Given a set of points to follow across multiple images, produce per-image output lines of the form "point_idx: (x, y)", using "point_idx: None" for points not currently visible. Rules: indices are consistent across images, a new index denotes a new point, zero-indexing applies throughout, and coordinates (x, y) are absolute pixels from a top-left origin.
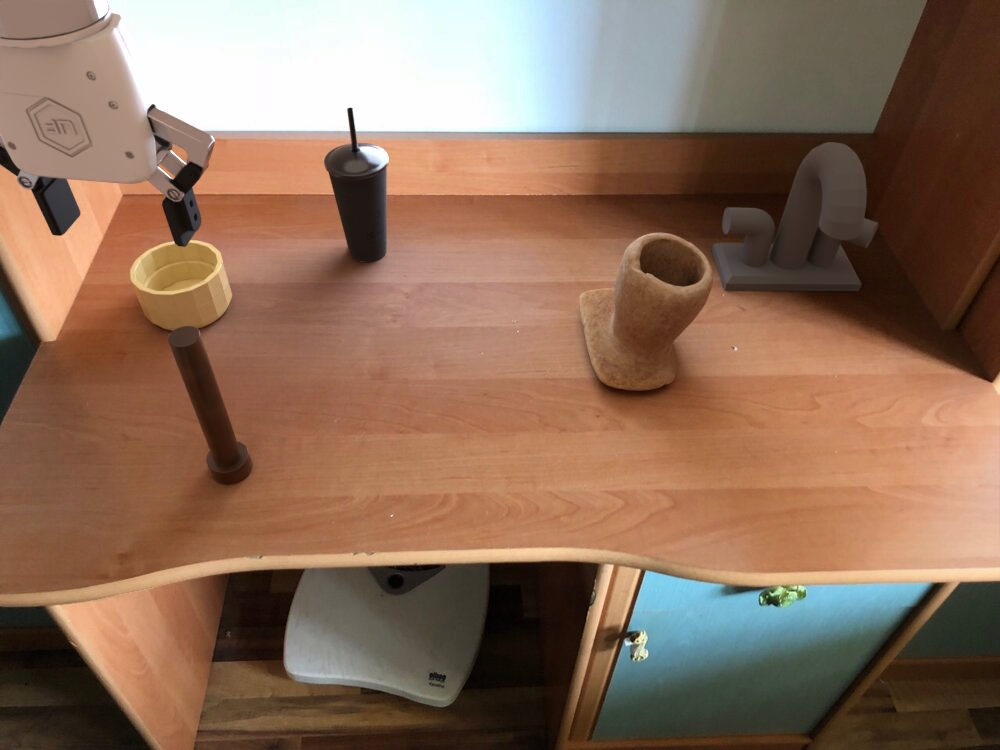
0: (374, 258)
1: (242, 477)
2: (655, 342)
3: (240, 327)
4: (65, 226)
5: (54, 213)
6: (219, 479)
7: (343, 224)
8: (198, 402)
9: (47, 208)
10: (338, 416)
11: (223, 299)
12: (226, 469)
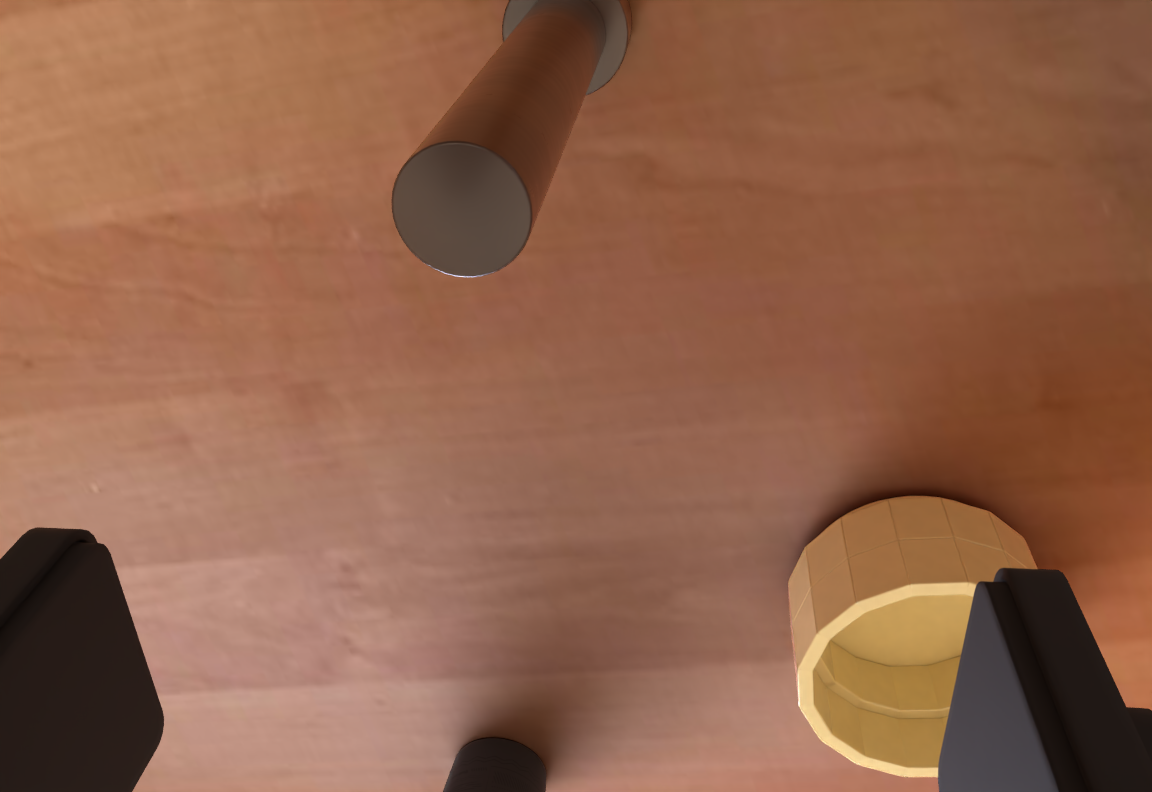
0: (468, 749)
1: None
2: None
3: (738, 520)
4: (975, 650)
5: (1029, 738)
6: None
7: None
8: (514, 55)
9: (1080, 777)
10: (353, 251)
11: (793, 597)
12: None
